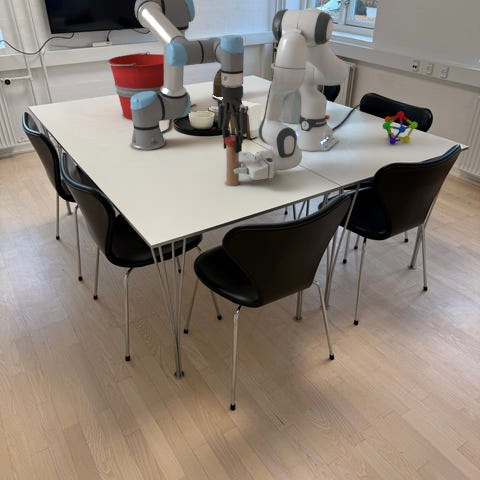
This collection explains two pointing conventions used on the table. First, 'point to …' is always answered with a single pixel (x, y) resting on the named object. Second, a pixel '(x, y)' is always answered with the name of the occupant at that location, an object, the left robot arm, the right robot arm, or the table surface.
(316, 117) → the right robot arm
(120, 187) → the table surface
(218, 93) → the bell
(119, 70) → the bucket
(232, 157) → the jar
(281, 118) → the bucket
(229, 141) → the lid
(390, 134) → the educational toy
